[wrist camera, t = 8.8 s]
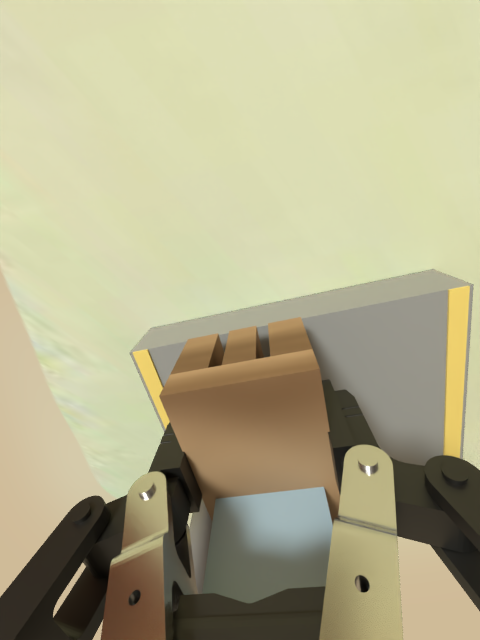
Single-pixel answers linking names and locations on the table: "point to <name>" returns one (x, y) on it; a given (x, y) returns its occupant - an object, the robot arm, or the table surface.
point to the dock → (355, 362)
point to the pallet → (252, 414)
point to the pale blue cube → (268, 544)
